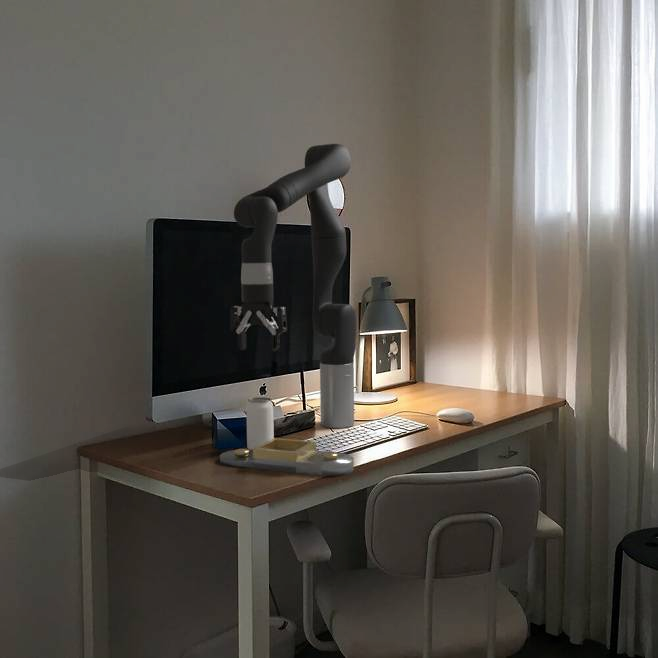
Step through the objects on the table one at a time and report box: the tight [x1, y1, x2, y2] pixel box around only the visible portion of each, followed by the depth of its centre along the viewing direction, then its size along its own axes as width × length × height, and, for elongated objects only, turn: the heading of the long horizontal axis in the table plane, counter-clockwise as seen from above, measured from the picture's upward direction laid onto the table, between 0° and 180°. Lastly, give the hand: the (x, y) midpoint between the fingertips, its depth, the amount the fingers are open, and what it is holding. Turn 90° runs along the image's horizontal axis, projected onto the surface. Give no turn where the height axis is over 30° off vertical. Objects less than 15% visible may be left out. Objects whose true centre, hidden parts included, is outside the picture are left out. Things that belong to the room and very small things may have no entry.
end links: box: [219, 437, 355, 477], centre depth 172 cm, size 32×11×4 cm, turn 67°
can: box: [245, 397, 275, 450], centre depth 187 cm, size 6×6×12 cm
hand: (258, 349), depth 185 cm, fingers open, 8 cm apart
